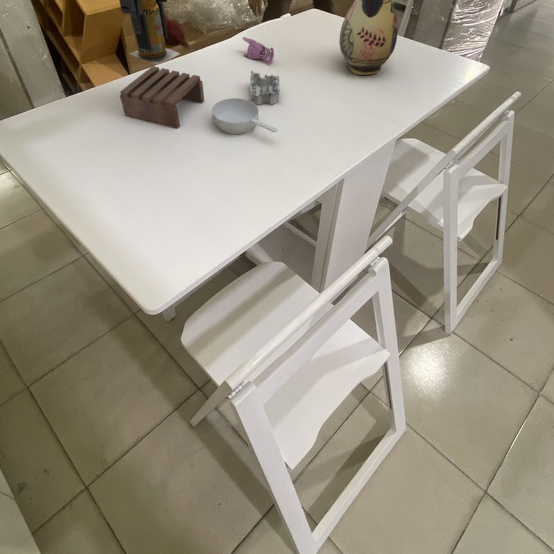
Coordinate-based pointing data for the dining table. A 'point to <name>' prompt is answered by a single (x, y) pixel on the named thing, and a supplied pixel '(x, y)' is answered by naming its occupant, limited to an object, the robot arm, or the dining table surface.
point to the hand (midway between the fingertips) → (153, 42)
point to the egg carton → (264, 88)
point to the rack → (160, 95)
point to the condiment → (153, 36)
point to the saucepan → (237, 116)
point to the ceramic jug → (368, 35)
